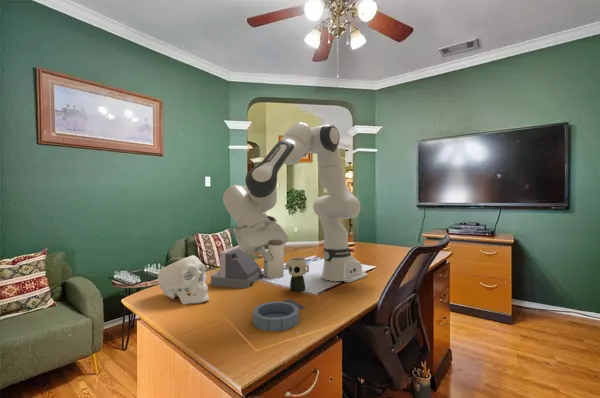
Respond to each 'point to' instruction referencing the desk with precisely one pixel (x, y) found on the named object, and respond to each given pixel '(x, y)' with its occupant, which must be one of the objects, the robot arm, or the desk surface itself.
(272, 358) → the desk surface
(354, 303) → the desk surface
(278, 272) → the salt mill
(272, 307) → the bowl
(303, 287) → the character mug
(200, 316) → the desk surface
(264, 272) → the supplement box
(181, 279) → the skull planter
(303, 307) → the mat
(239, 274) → the instant camera
